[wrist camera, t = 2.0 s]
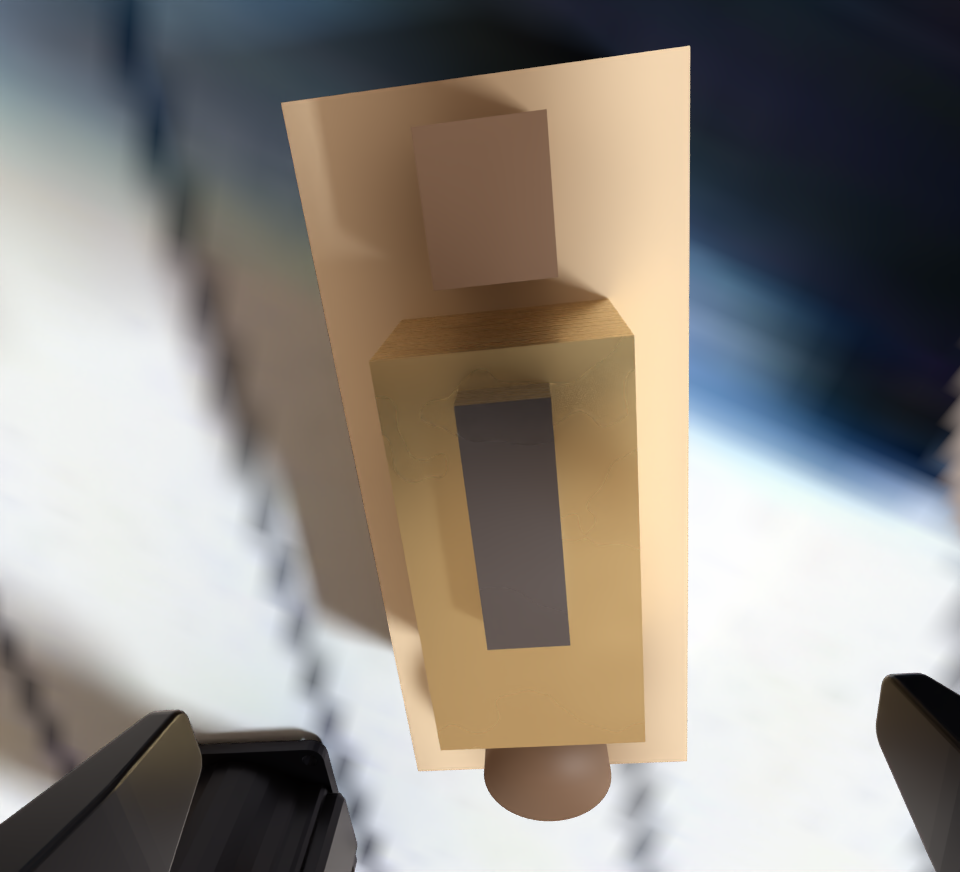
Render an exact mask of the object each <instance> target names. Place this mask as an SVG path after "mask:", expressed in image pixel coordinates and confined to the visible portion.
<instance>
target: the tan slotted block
mask: <svg viewBox="0 0 960 872" xmlns="http://www.w3.org/2000/svg"><path fill="white" fill-rule="evenodd" d="M369 366H370V371H371V377H372V382H373V388H374V393H375V398H376V404H377V409H378V415H379V420H380V425H381V431H382V436H383V442H384V447H385V452H386V458H387V463H388V469H389V474H390V479H391V485H392V490H393V496H394V501H395V506H396V512H397V517H398V523H399V528H400V533H401V539H402V544H403V550H404V555H405V561H406V566H407V571H408V577H409V582H410V588H411V593H412V598H413V604H414V609H415V615H416V620H417V625H418V631H419V636H420V642H421V647H422V652H423V658H424V663H425V669H426V674H427V679H428V685H429V690H430V696H431V701H432V706H433V712H434V717H435V723H436V728H437V733H438V739H439V744H440V750H441V751H442V750H466V749H491V748H515V747H540V746H564V745H589V744H613V743H638V742H645V707H644V670H643V634H642V597H641V561H640V524H639V488H638V451H637V414H636V378H635V341H634V334H633V333H632V331H631V330H630V328H629V327H628V326H627V324H626V323H625V321H624V320H623V319H622V317H621V316H620V314H619V313H618V312H617V310H616V309H615V307H614V306H613V304H612V303H611V302H610V300H609V299H608V298H607V299H597V300H588V301H578V302H569V303H559V304H550V305H540V306H531V307H521V308H512V309H502V310H492V311H483V312H473V313H464V314H454V315H445V316H435V317H426V318H416V319H407V320H401V321H400V323H399V324H398V325H397V326H396V328H395V329H394V330H393V331H392V333H391V334H390V335H389V337H388V338H387V339H386V340H385V342H384V343H383V344H382V345H381V347H380V348H379V349H378V351H377V352H376V353H375V354H374V356H373V357H372V358H371V359H370V361H369Z"/></svg>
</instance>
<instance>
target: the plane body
mask: <svg viewBox="0 0 960 872" xmlns="http://www.w3.org/2000/svg"><path fill="white" fill-rule="evenodd" d="M281 106H282V111H283V115H284V120H285V125H286V130H287V135H288V140H289V145H290V149H291V154H292V159H293V164H294V169H295V174H296V179H297V184H298V188H299V193H300V198H301V203H302V208H303V213H304V218H305V222H306V227H307V232H308V237H309V242H310V247H311V252H312V257H313V261H314V266H315V271H316V276H317V281H318V286H319V291H320V295H321V300H322V305H323V310H324V315H325V320H326V325H327V330H328V334H329V339H330V344H331V349H332V354H333V359H334V364H335V368H336V373H337V378H338V383H339V388H340V393H341V398H342V403H343V407H344V412H345V417H346V422H347V427H348V432H349V437H350V441H351V446H352V451H353V456H354V461H355V466H356V471H357V476H358V480H359V485H360V490H361V495H362V500H363V505H364V510H365V514H366V519H367V524H368V529H369V534H370V539H371V544H372V549H373V553H374V558H375V563H376V568H377V573H378V578H379V583H380V587H381V592H382V597H383V602H384V607H385V612H386V617H387V622H388V626H389V631H390V636H391V641H392V646H393V651H394V656H395V660H396V665H397V670H398V675H399V680H400V685H401V690H402V695H403V699H404V704H405V709H406V714H407V719H408V724H409V729H410V733H411V738H412V743H413V748H414V753H415V758H416V763H417V768H418V771H438V770H464V769H484V779H485V783H486V786H487V789H488V791H489V792H490V794H491V796H492V797H493V798H494V799H495V800H496V801H497V802H498V803H499V804H500V805H501V806H502V807H504V808H505V809H507V810H508V811H510V812H512V813H514V814H516V815H519V816H521V817H525V818H528V819H533V820H539V821H560V820H566V819H570V818H574V817H577V816H579V815H582V814H584V813H586V812H588V811H590V810H591V809H592V808H594V807H595V806H596V805H597V804H599V803H600V802H601V800H602V799H603V798H604V797H605V795H606V794H607V792H608V789H609V787H610V783H611V769H610V764H623V763H649V762H676V761H687V635H688V408H689V181H690V46H685V47H678V48H671V49H663V50H656V51H649V52H642V53H635V54H627V55H620V56H613V57H606V58H599V59H592V60H584V61H577V62H570V63H563V64H556V65H549V66H541V67H534V68H527V69H520V70H513V71H506V72H498V73H491V74H484V75H477V76H470V77H463V78H455V79H448V80H441V81H434V82H427V83H420V84H412V85H405V86H398V87H391V88H384V89H376V90H369V91H362V92H355V93H348V94H341V95H333V96H326V97H319V98H312V99H305V100H298V101H290V102H283V103H281ZM607 298H608V299H609V300H610V302H611V303H612V304H613V306H614V307H615V309H616V310H617V312H618V313H619V314H620V316H621V317H622V319H623V320H624V321H625V323H626V324H627V326H628V327H629V328H630V330H631V331H632V333H633V334H634V341H635V378H636V414H637V451H638V488H639V524H640V561H641V597H642V634H643V670H644V707H645V742H638V743H613V744H589V745H564V746H540V747H515V748H491V749H466V750H442V751H441V750H440V744H439V739H438V733H437V728H436V723H435V717H434V712H433V706H432V701H431V696H430V690H429V685H428V679H427V674H426V669H425V663H424V658H423V652H422V647H421V642H420V636H419V631H418V625H417V620H416V615H415V609H414V604H413V598H412V593H411V588H410V582H409V577H408V571H407V566H406V561H405V555H404V550H403V544H402V539H401V533H400V528H399V523H398V517H397V512H396V506H395V501H394V496H393V490H392V485H391V479H390V474H389V469H388V463H387V458H386V452H385V447H384V442H383V436H382V431H381V425H380V420H379V415H378V409H377V404H376V398H375V393H374V388H373V382H372V377H371V371H370V366H369V361H370V359H371V358H372V357H373V356H374V354H375V353H376V352H377V351H378V349H379V348H380V347H381V345H382V344H383V343H384V342H385V340H386V339H387V338H388V337H389V335H390V334H391V333H392V331H393V330H394V329H395V328H396V326H397V325H398V324H399V323H400V321H401V320H407V319H416V318H426V317H435V316H445V315H454V314H464V313H473V312H483V311H492V310H502V309H512V308H521V307H531V306H540V305H550V304H559V303H569V302H578V301H588V300H597V299H607Z"/></svg>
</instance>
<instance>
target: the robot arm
mask: <svg viewBox="0 0 960 872" xmlns="http://www.w3.org/2000/svg"><path fill="white" fill-rule="evenodd" d="M876 733H877V738H878V742H879V745H880V747H881V749H882V752H883V754H884V756H885V759H886V761H887V763H888V765H889V768H890V770H891V772H892V774H893V777H894V779H895V781H896V784H897V786H898V788H899V790H900V793H901V795H902V797H903V799H904V802H905V804H906V806H907V808H908V811H909V813H910V815H911V818H912V820H913V822H914V824H915V827H916V829H917V831H918V833H919V836H920V838H921V840H922V843H923V845H924V847H925V849H926V852H927V854H928V856H929V858H930V860H931V862H932V865H933V867H934V869H935V871H936V872H960V695H959V694H957V693H955V692H954V691H952V690H950V689H949V688H947V687H945V686H944V685H942V684H940V683H939V682H937V681H935V680H934V679H932V678H930V677H928V676H926V675H924V674H921V673H902V674H890V675H887V676H886V677H885V678H884V679H883V681H882V685H881V692H880V699H879V706H878V713H877V719H876ZM310 755H311V756H310ZM356 850H357V841H356V838H355V834H354V830H353V826H352V823H351V819H350V815H349V812H348V808H347V804H346V800H345V798H344V797H343V796H342V795H341V793H339V792H338V788H337V785H336V781H335V777H334V774H333V770H332V766H331V763H330V759H329V755H328V752H327V749H326V747H325V746H324V745H323V744H322V743H320V742H318V741H314V740H302V741H278V742H255V743H232V744H209V745H198V743H197V740H196V738H195V735H194V732H193V729H192V727H191V724H190V721H189V718H188V716H187V714H185V713H184V712H183V711H181V710H163V711H154V712H151V713H149V714H148V715H146V716H145V717H144V718H142V719H141V720H139V721H138V722H137V723H135V724H134V725H133V726H131V727H130V728H129V729H127V730H126V731H125V732H123V733H122V734H121V735H119V736H118V737H117V738H115V739H114V740H113V741H111V742H110V743H109V744H107V745H106V746H105V747H103V748H102V749H101V750H99V751H98V752H97V753H95V754H94V755H92V756H91V757H90V758H88V759H87V760H86V761H84V762H83V763H82V764H80V765H79V766H78V767H76V768H75V769H74V770H72V771H71V772H70V773H68V774H67V775H66V776H64V777H63V778H62V779H60V780H59V781H58V782H56V783H55V784H54V785H52V786H51V787H50V788H48V789H47V790H46V791H44V792H43V793H41V794H40V795H39V796H37V797H36V798H35V799H33V800H32V801H31V802H29V803H28V804H27V805H25V806H24V807H23V808H21V809H20V810H19V811H17V812H16V813H15V814H13V815H12V816H11V817H9V818H8V819H7V820H5V821H4V822H3V823H1V824H0V872H354V871H355V867H356V863H357V858H356V855H355V854H356Z"/></svg>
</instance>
